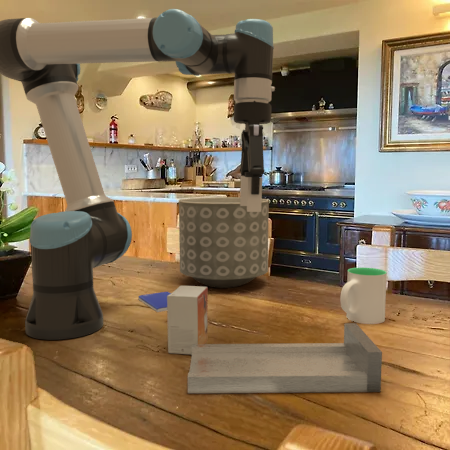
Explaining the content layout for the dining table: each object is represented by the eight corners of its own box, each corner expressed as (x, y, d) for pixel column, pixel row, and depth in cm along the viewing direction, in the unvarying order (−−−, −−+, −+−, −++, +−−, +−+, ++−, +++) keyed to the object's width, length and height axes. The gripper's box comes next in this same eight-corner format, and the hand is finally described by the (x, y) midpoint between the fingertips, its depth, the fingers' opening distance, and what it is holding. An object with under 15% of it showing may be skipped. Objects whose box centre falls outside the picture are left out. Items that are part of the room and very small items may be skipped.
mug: (361, 330, 96) (362, 280, 94) (328, 321, 102) (329, 273, 100) (391, 318, 104) (393, 271, 102) (359, 310, 110) (360, 266, 108)
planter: (280, 291, 127) (281, 201, 124) (188, 297, 121) (187, 203, 118) (252, 272, 151) (253, 196, 148) (174, 276, 145) (173, 198, 142)
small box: (198, 356, 83) (197, 297, 82) (167, 353, 84) (166, 295, 83) (208, 340, 91) (208, 286, 89) (180, 338, 92) (179, 284, 90)
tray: (187, 393, 69) (187, 353, 68) (192, 358, 82) (192, 324, 81) (380, 391, 69) (382, 352, 69) (355, 357, 82) (356, 323, 81)
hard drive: (138, 295, 119) (157, 307, 108) (168, 291, 123) (189, 302, 113) (138, 301, 119) (157, 314, 109) (168, 297, 123) (189, 309, 113)
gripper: (282, 94, 83) (278, 214, 86) (262, 110, 108) (260, 204, 110) (239, 92, 83) (236, 214, 85) (229, 109, 107) (227, 203, 110)
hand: (249, 208), depth 98 cm, fingers open, 13 cm apart
